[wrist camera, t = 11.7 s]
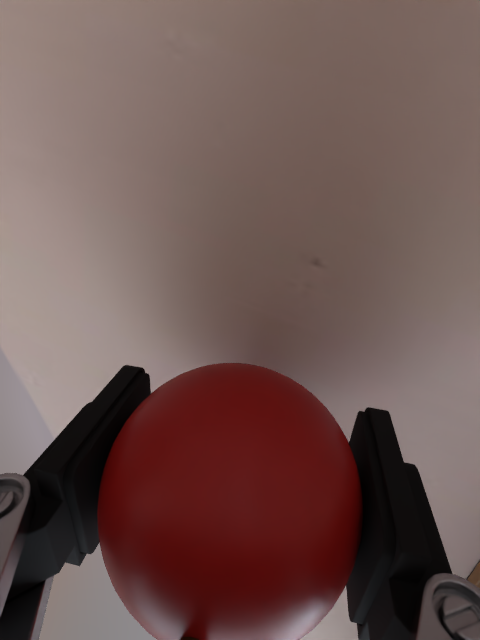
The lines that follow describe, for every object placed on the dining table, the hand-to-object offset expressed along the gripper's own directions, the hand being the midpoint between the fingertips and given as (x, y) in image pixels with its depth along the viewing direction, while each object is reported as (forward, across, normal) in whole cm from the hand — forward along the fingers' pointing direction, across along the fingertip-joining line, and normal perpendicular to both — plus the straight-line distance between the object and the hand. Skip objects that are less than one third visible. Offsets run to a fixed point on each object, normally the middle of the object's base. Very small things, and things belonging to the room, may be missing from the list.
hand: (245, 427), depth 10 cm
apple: (+1, 0, 0) cm, 1 cm away
